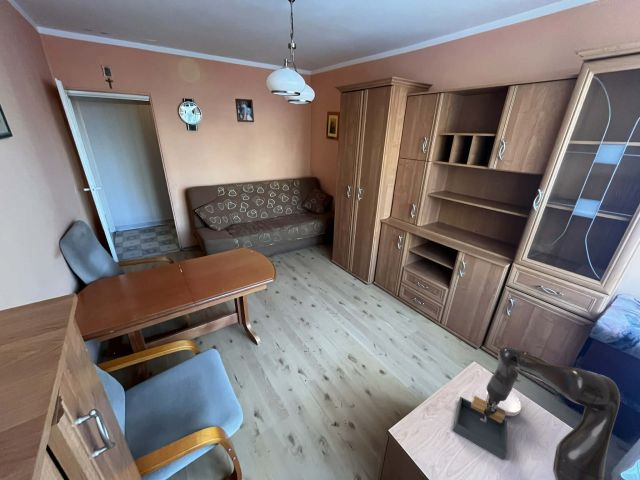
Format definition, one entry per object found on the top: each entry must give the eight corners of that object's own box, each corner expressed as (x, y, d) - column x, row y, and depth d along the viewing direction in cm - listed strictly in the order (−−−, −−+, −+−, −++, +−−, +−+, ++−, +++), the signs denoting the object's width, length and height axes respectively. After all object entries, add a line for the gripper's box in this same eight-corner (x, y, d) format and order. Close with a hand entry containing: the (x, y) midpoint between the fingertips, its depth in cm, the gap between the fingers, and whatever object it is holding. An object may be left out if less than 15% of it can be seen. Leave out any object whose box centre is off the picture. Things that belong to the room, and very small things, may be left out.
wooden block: (501, 431, 111) (505, 424, 109) (469, 414, 117) (473, 407, 115) (501, 417, 116) (505, 410, 114) (471, 402, 122) (474, 395, 120)
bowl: (485, 387, 141) (490, 378, 138) (517, 406, 133) (523, 397, 129) (479, 407, 131) (484, 398, 128) (513, 429, 123) (519, 419, 119)
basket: (501, 460, 111) (506, 453, 109) (452, 431, 121) (455, 424, 118) (502, 427, 123) (506, 420, 121) (457, 403, 132) (460, 396, 130)
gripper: (510, 404, 103) (495, 430, 111) (510, 378, 114) (496, 403, 121) (488, 393, 107) (475, 419, 114) (490, 369, 117) (478, 394, 125)
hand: (486, 411), depth 118 cm, fingers closed on wooden block, 3 cm apart
